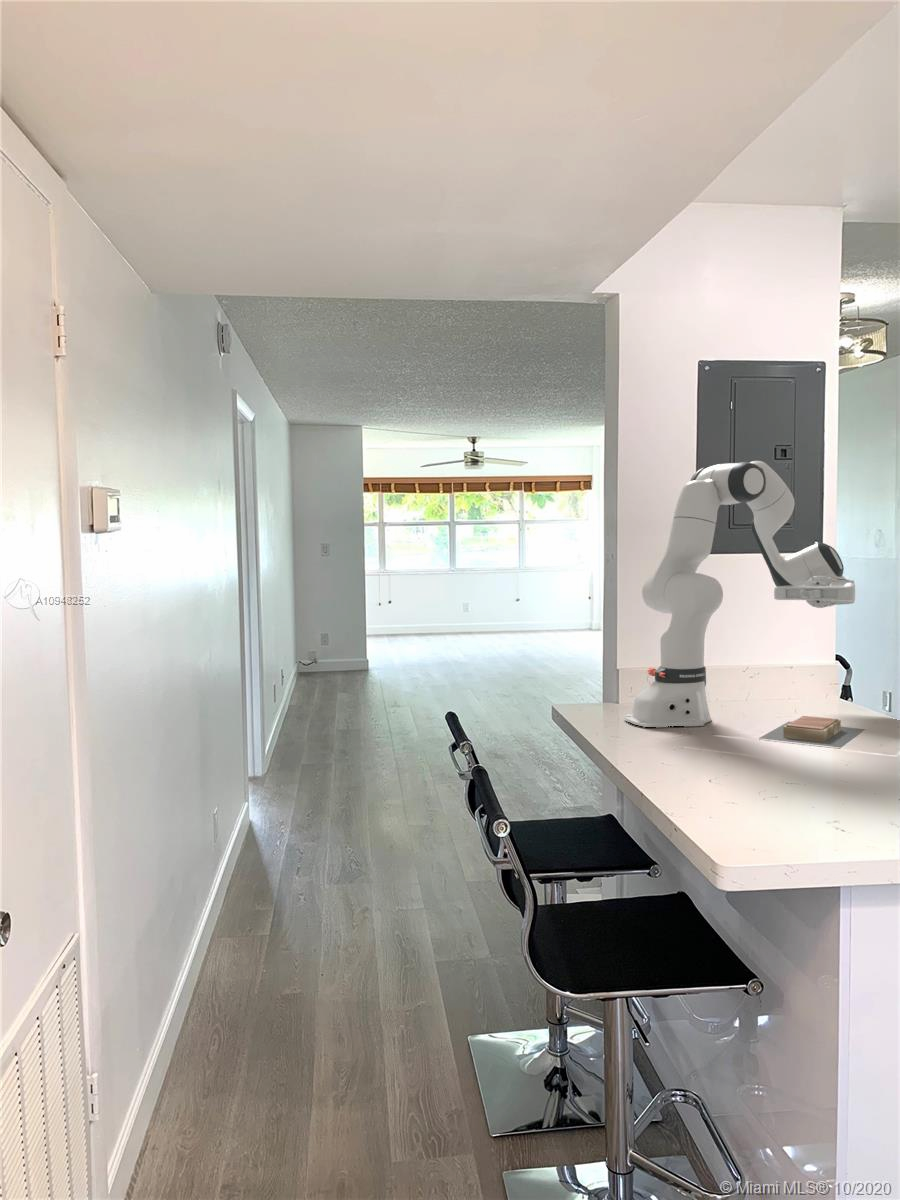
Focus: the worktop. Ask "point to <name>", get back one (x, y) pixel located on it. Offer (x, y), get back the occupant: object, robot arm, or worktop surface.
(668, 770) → the worktop surface
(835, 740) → the rubber mat
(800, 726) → the flat wooden block
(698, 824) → the worktop surface
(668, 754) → the worktop surface
